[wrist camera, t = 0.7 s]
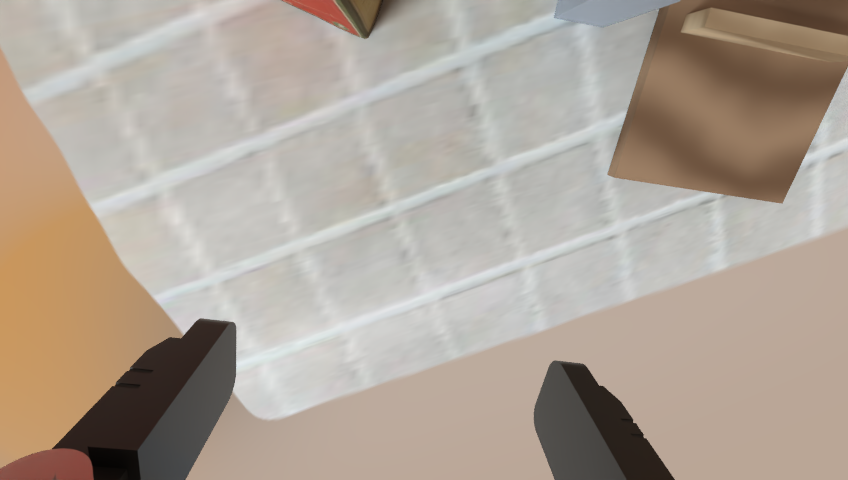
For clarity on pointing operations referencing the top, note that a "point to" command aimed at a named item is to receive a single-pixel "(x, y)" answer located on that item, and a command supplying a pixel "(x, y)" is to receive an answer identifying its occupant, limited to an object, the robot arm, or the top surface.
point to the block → (605, 10)
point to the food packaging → (343, 13)
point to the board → (733, 94)
